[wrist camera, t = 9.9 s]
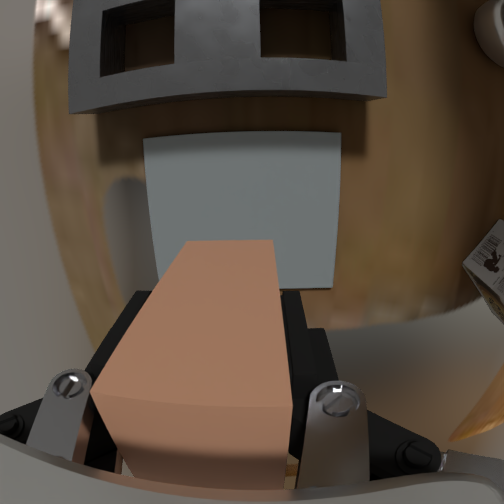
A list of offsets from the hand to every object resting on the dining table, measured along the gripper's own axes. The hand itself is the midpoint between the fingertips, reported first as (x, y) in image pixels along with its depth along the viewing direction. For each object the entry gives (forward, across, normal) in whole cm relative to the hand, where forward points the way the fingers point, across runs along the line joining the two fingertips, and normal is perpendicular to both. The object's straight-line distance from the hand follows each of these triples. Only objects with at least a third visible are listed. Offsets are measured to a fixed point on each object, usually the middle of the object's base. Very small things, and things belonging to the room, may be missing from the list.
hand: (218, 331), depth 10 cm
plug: (+5, 0, +1) cm, 5 cm away
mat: (+14, 0, 0) cm, 14 cm away
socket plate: (+14, +1, -13) cm, 19 cm away
